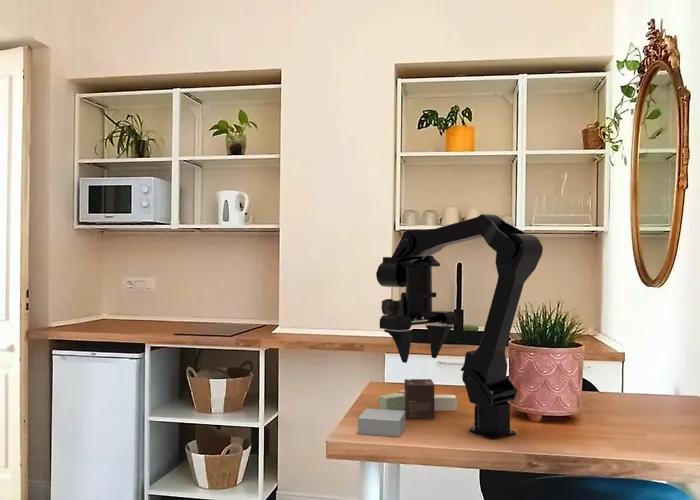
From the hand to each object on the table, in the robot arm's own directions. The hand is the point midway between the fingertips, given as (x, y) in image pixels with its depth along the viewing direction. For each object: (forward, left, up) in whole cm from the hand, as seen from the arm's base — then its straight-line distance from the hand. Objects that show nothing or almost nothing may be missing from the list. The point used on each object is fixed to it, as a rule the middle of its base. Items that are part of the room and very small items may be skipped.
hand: (419, 360), depth 136 cm
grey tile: (-5, +13, -12) cm, 19 cm away
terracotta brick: (+9, -5, -12) cm, 15 cm away
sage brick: (+8, +1, -12) cm, 14 cm away
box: (0, 0, -12) cm, 12 cm away
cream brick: (+2, -8, -12) cm, 14 cm away
